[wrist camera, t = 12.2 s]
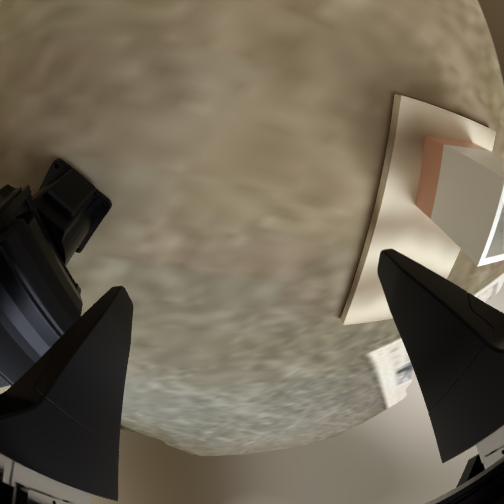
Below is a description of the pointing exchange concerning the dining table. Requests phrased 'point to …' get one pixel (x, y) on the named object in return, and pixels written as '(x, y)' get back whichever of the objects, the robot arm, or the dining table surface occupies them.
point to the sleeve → (464, 196)
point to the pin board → (407, 204)
